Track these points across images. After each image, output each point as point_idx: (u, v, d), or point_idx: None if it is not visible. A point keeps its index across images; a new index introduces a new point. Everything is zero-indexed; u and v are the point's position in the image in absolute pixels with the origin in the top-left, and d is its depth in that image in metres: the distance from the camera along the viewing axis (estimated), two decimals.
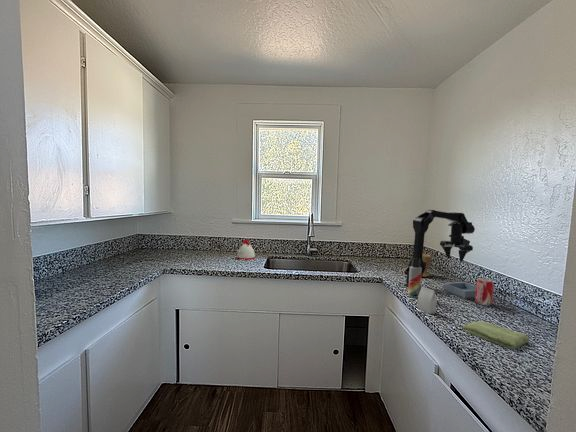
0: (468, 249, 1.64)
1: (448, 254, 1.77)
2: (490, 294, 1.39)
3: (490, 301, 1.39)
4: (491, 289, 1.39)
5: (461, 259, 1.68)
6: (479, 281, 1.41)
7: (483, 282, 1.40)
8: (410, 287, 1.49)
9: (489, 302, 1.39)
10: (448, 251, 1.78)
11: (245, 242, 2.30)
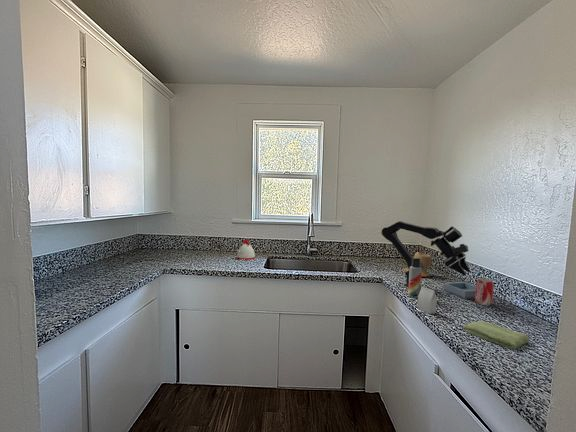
0: (450, 263, 1.45)
1: (465, 268, 1.52)
2: (490, 294, 1.39)
3: (490, 301, 1.39)
4: (491, 289, 1.39)
5: (461, 272, 1.45)
6: (479, 281, 1.41)
7: (483, 282, 1.40)
8: (410, 287, 1.49)
9: (489, 302, 1.39)
10: (463, 265, 1.53)
11: (245, 242, 2.30)
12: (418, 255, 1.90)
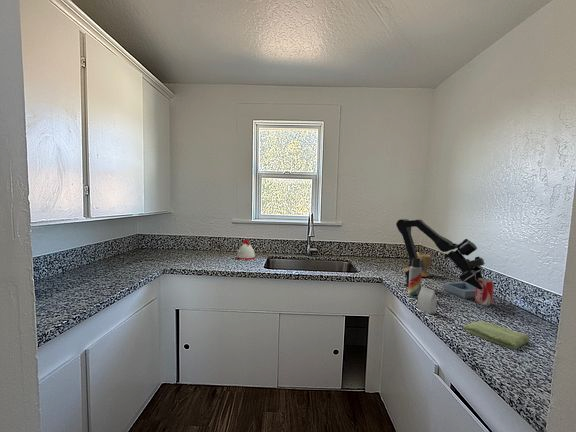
0: (465, 277, 1.39)
1: None
2: (490, 294, 1.39)
3: (490, 301, 1.39)
4: (491, 289, 1.39)
5: (478, 287, 1.39)
6: (479, 281, 1.41)
7: (483, 282, 1.40)
8: (410, 287, 1.49)
9: (489, 302, 1.39)
10: None
11: (245, 242, 2.30)
12: (418, 255, 1.90)
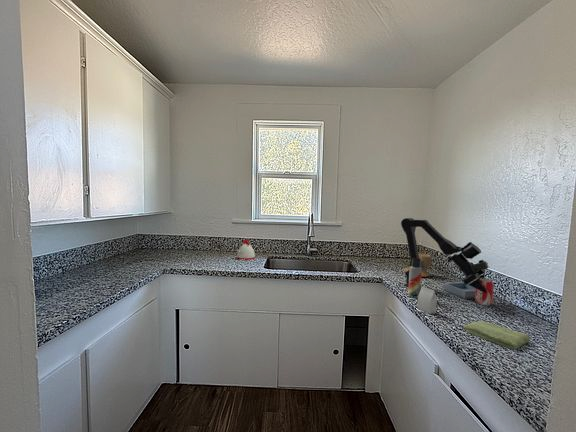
0: (469, 281, 1.38)
1: None
2: (490, 294, 1.39)
3: (490, 301, 1.39)
4: (491, 289, 1.39)
5: (482, 290, 1.39)
6: None
7: (483, 282, 1.40)
8: (410, 287, 1.49)
9: (489, 302, 1.39)
10: None
11: (245, 242, 2.30)
12: None
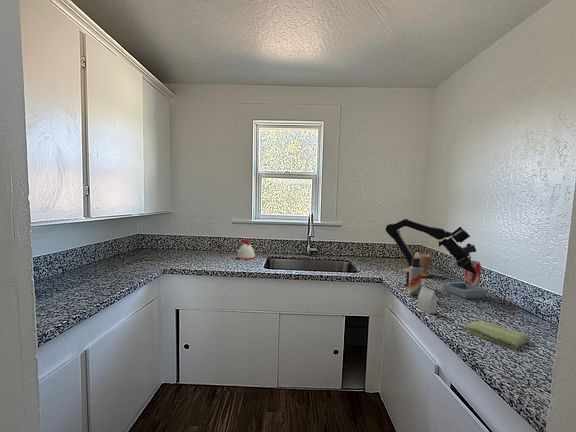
0: (463, 263, 1.45)
1: None
2: (479, 275, 1.48)
3: (478, 281, 1.49)
4: (480, 270, 1.48)
5: (472, 272, 1.48)
6: None
7: (473, 264, 1.48)
8: (410, 287, 1.49)
9: (478, 282, 1.48)
10: None
11: (245, 242, 2.30)
12: (418, 255, 1.90)
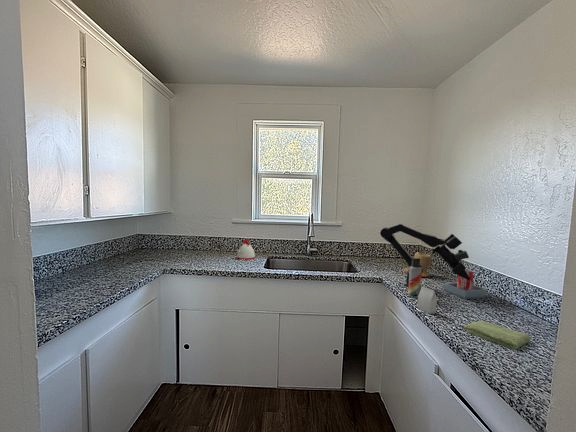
0: (458, 270, 1.49)
1: None
2: (472, 282, 1.53)
3: (471, 289, 1.54)
4: (472, 278, 1.53)
5: (467, 278, 1.51)
6: None
7: (466, 272, 1.53)
8: (410, 287, 1.49)
9: None
10: None
11: (245, 242, 2.30)
12: (418, 255, 1.90)
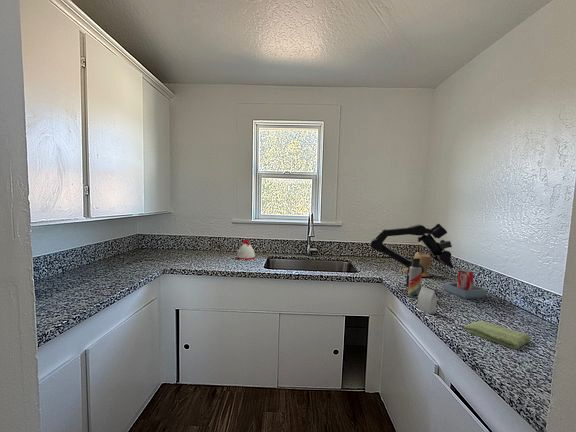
0: (445, 257, 1.53)
1: None
2: (472, 283, 1.53)
3: (471, 289, 1.54)
4: (472, 278, 1.53)
5: (450, 266, 1.57)
6: (462, 272, 1.54)
7: (466, 272, 1.53)
8: (410, 287, 1.49)
9: None
10: None
11: (245, 242, 2.30)
12: (418, 255, 1.90)
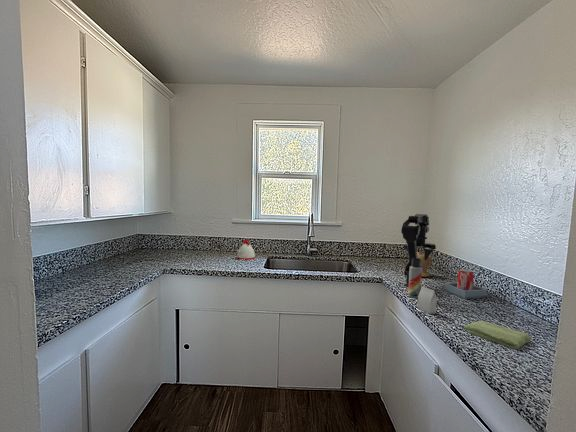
0: None
1: None
2: (472, 283, 1.53)
3: None
4: (472, 278, 1.53)
5: None
6: (462, 272, 1.54)
7: (466, 272, 1.53)
8: (410, 287, 1.49)
9: None
10: None
11: (245, 242, 2.30)
12: (418, 255, 1.90)
